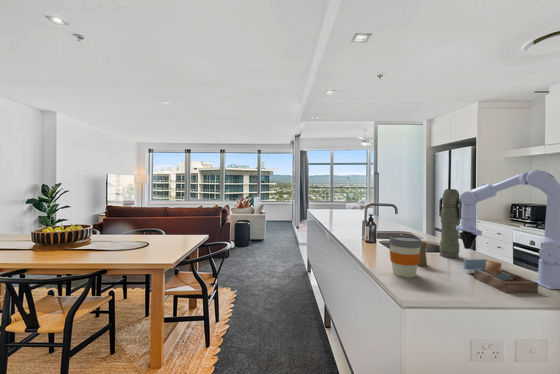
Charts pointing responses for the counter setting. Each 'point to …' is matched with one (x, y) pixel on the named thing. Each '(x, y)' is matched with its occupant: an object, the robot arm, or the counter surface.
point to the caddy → (508, 282)
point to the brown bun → (493, 268)
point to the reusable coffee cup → (405, 255)
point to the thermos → (450, 223)
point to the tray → (483, 268)
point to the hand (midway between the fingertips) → (467, 248)
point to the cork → (423, 254)
